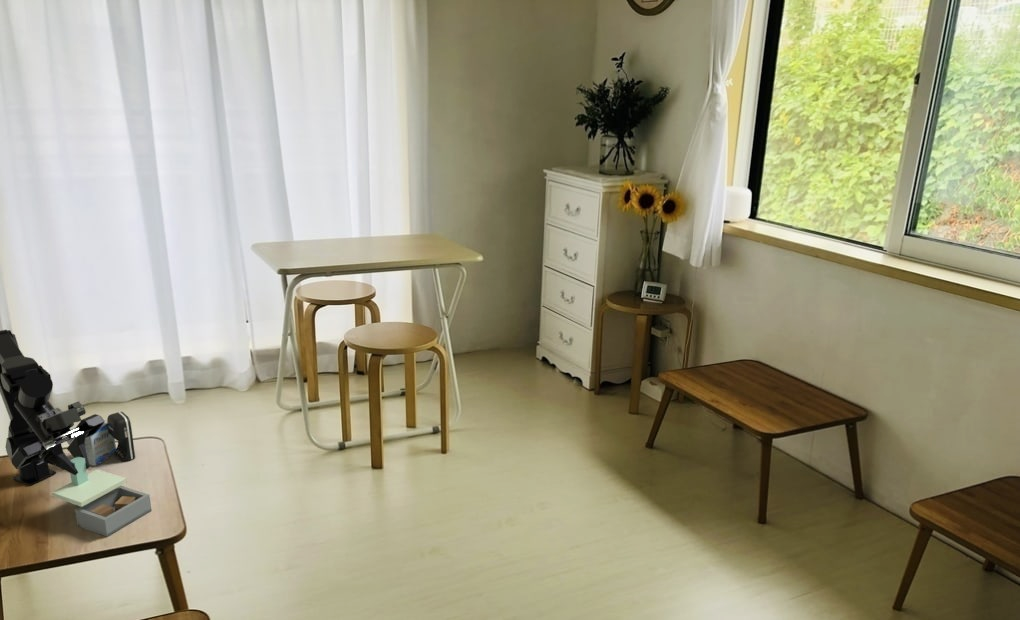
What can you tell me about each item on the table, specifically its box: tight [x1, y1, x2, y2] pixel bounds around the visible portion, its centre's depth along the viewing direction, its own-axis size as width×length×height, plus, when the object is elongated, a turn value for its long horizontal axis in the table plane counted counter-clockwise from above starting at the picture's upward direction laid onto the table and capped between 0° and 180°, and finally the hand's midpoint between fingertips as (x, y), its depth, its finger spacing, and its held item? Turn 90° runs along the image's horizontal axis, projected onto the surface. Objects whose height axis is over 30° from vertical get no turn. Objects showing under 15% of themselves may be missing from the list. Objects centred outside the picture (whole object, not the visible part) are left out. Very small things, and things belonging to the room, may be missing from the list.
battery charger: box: [106, 411, 136, 462], centre depth 185 cm, size 7×4×11 cm, turn 45°
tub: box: [74, 485, 153, 538], centre depth 160 cm, size 9×11×4 cm
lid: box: [51, 456, 127, 507], centre depth 161 cm, size 9×11×6 cm
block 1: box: [90, 505, 114, 517], centre depth 158 cm, size 3×3×3 cm
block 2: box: [115, 496, 136, 511], centre depth 161 cm, size 3×3×3 cm
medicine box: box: [85, 419, 117, 467], centre depth 184 cm, size 8×4×9 cm, turn 170°
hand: (82, 471), depth 161 cm, fingers closed on lid, 2 cm apart
